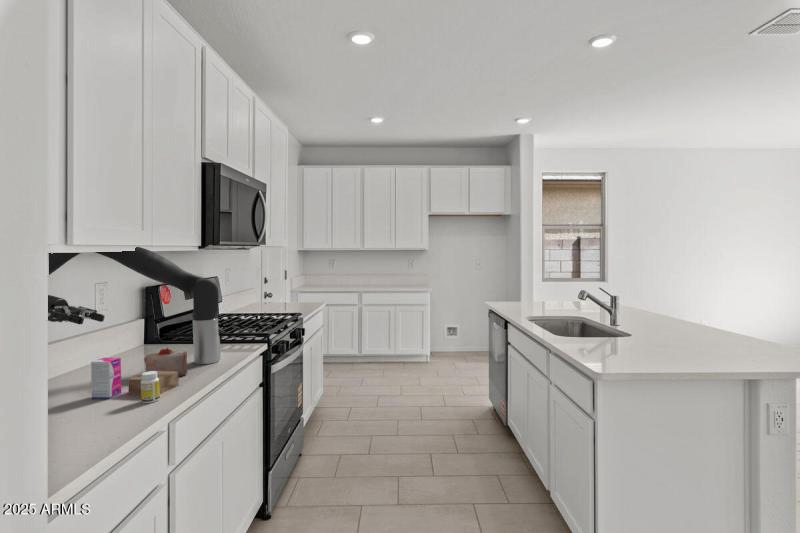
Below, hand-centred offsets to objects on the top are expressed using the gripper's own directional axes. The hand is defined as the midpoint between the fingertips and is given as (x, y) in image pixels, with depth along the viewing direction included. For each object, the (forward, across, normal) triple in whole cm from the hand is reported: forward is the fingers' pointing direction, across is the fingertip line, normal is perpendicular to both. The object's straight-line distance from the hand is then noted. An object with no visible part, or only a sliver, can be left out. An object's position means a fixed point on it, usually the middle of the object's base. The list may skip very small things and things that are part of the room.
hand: (93, 319), depth 138 cm
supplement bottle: (+26, -3, +18) cm, 32 cm away
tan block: (+20, +8, +19) cm, 29 cm away
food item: (+15, +24, +19) cm, 34 cm away
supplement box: (+10, +1, +22) cm, 24 cm away
